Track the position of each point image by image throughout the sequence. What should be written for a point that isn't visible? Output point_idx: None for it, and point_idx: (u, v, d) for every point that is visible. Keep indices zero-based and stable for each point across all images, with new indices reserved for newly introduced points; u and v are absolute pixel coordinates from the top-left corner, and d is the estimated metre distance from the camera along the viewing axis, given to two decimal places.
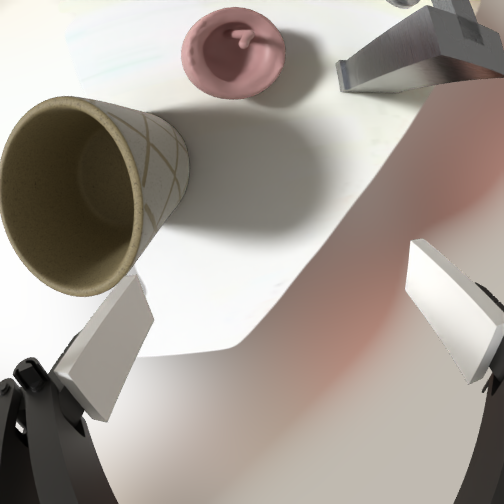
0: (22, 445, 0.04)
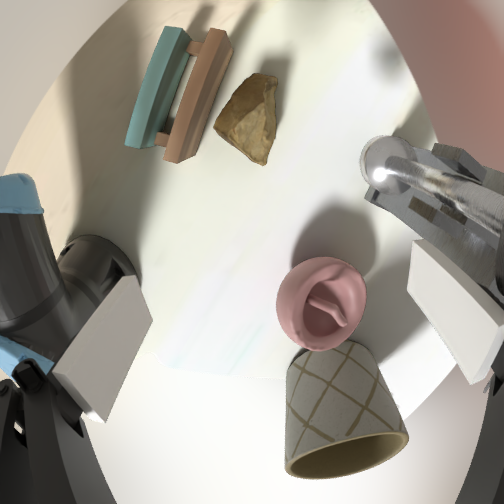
0: (21, 445, 0.04)
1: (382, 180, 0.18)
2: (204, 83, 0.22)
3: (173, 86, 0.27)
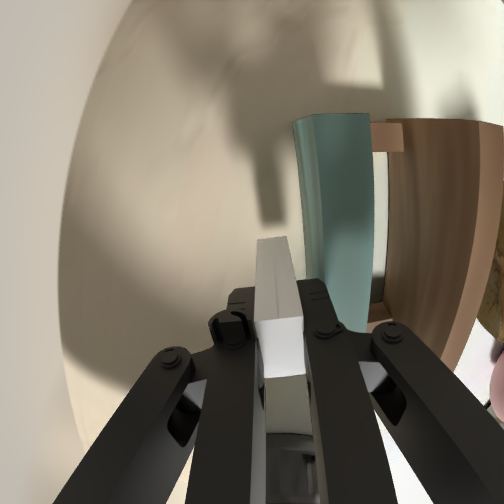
0: (169, 437, 0.06)
1: None
2: None
3: None
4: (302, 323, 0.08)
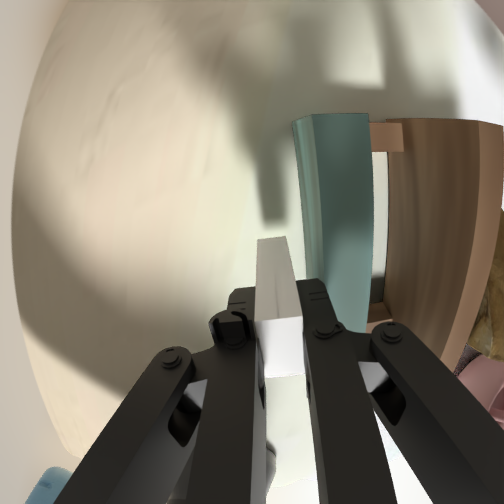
0: (169, 437, 0.06)
1: None
2: None
3: None
4: (301, 323, 0.08)
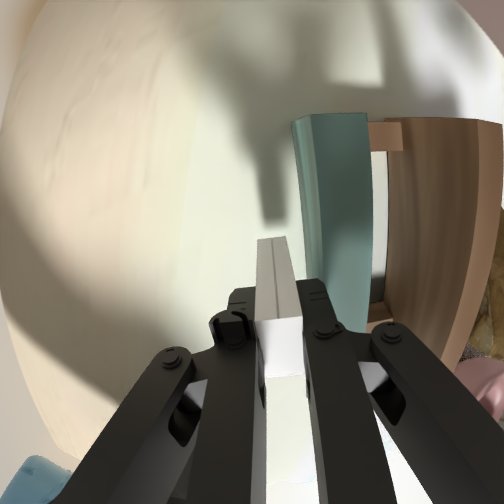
0: (169, 437, 0.06)
1: None
2: None
3: None
4: (301, 323, 0.08)
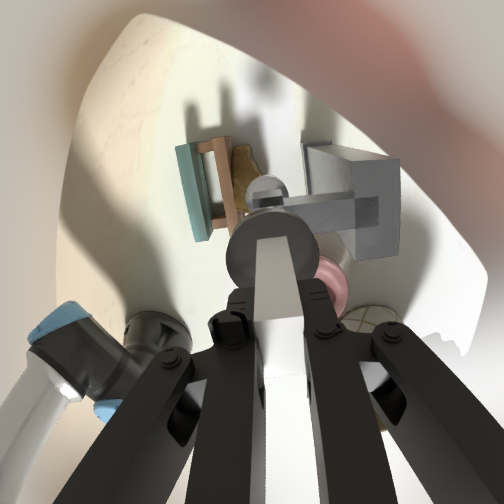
0: (169, 437, 0.06)
1: None
2: (231, 180, 0.34)
3: (203, 182, 0.41)
4: (302, 323, 0.08)
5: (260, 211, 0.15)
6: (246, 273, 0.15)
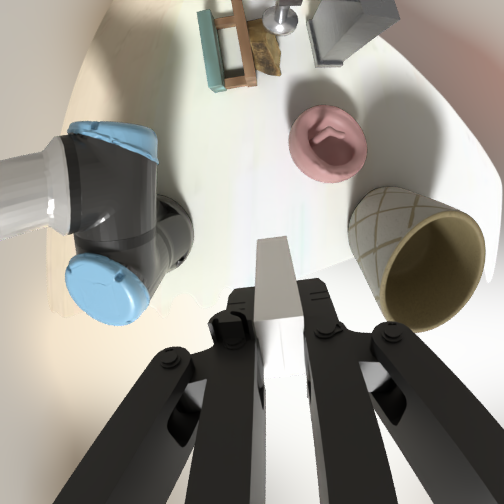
0: (169, 437, 0.06)
1: (278, 27, 0.25)
2: None
3: (219, 48, 0.36)
4: (302, 323, 0.08)
5: None
6: None
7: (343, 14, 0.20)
